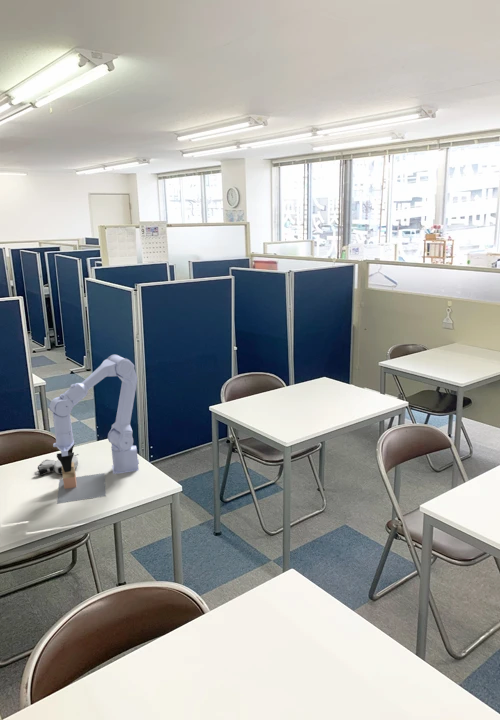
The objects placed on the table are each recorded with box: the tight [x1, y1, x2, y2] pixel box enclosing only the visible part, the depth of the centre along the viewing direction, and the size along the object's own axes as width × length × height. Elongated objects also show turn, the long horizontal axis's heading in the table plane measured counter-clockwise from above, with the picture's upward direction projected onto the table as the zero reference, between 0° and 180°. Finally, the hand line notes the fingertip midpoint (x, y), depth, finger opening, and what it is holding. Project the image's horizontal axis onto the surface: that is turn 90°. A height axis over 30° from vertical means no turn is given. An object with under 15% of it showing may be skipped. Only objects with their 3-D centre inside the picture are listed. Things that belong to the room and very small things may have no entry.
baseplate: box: [56, 472, 107, 505], centre depth 195 cm, size 16×18×1 cm
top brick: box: [62, 462, 76, 479], centre depth 195 cm, size 4×4×4 cm
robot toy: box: [34, 453, 80, 476], centre depth 209 cm, size 12×4×15 cm
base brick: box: [62, 473, 77, 489], centre depth 196 cm, size 4×4×4 cm
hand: (68, 466), depth 195 cm, fingers open, 7 cm apart
